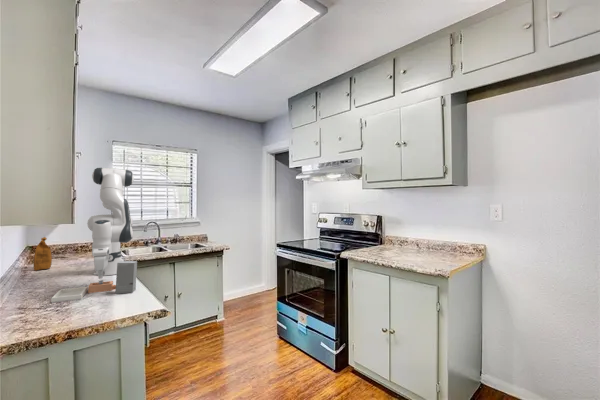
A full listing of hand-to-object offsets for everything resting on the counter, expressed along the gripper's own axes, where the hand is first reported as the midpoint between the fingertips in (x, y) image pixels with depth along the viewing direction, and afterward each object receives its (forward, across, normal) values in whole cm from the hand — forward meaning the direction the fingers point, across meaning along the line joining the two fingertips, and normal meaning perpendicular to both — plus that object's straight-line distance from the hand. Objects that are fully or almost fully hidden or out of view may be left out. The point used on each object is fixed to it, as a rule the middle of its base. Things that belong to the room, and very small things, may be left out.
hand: (101, 276), depth 159 cm
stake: (+7, -1, 0) cm, 7 cm away
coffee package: (+6, -80, -44) cm, 91 cm away
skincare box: (+8, +8, +12) cm, 16 cm away
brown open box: (+7, -1, 0) cm, 7 cm away
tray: (+7, +5, -12) cm, 15 cm away
